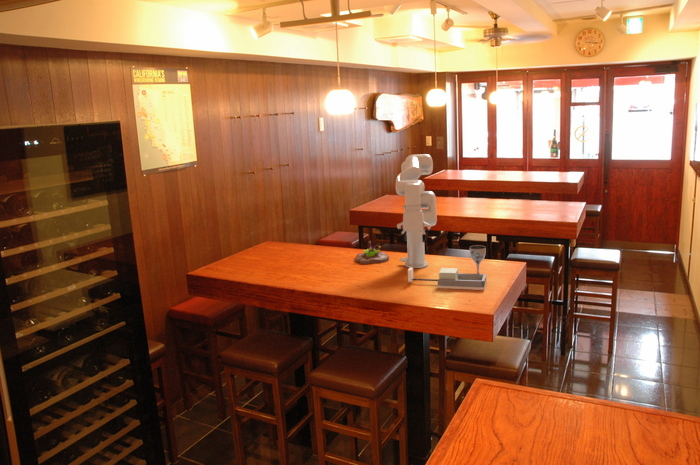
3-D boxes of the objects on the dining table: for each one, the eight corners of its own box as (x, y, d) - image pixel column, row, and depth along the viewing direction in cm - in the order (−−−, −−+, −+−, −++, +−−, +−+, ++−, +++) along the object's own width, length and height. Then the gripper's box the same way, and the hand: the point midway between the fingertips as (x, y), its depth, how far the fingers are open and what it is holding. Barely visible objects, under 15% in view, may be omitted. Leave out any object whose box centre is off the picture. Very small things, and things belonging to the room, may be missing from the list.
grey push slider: (407, 283, 282) (407, 271, 281) (410, 278, 289) (410, 266, 288) (455, 284, 275) (455, 272, 273) (458, 280, 282) (457, 267, 281)
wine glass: (474, 278, 287) (474, 249, 284) (467, 274, 294) (466, 246, 291) (488, 276, 289) (488, 247, 286) (481, 272, 296) (480, 244, 293)
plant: (385, 254, 346) (384, 236, 343) (391, 262, 327) (390, 243, 324) (352, 257, 343) (351, 239, 341) (357, 265, 324) (356, 246, 322)
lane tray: (437, 288, 276) (437, 279, 275) (441, 280, 287) (441, 272, 286) (484, 289, 269) (484, 281, 268) (486, 282, 280) (486, 274, 279)
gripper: (394, 209, 279) (395, 243, 283) (429, 209, 273) (430, 243, 277) (397, 206, 286) (399, 239, 290) (432, 206, 280) (432, 240, 284)
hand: (414, 241), depth 283 cm, fingers open, 9 cm apart
